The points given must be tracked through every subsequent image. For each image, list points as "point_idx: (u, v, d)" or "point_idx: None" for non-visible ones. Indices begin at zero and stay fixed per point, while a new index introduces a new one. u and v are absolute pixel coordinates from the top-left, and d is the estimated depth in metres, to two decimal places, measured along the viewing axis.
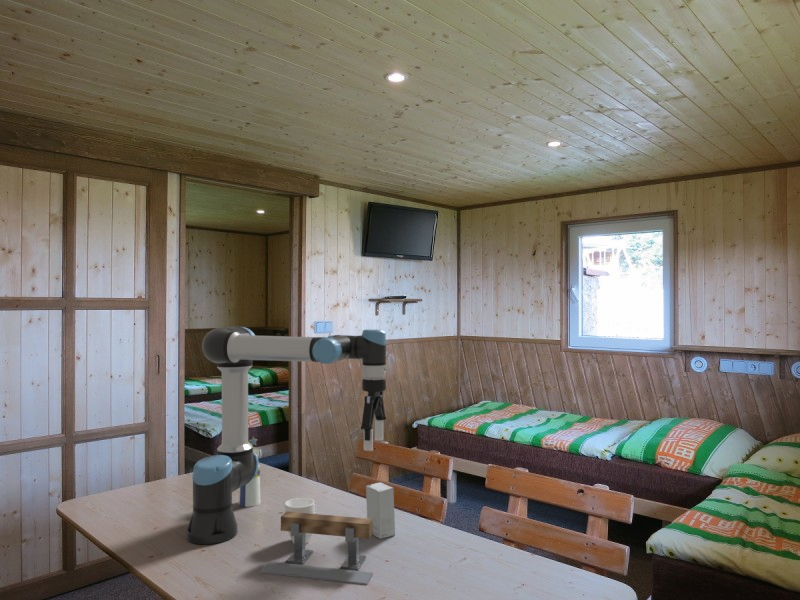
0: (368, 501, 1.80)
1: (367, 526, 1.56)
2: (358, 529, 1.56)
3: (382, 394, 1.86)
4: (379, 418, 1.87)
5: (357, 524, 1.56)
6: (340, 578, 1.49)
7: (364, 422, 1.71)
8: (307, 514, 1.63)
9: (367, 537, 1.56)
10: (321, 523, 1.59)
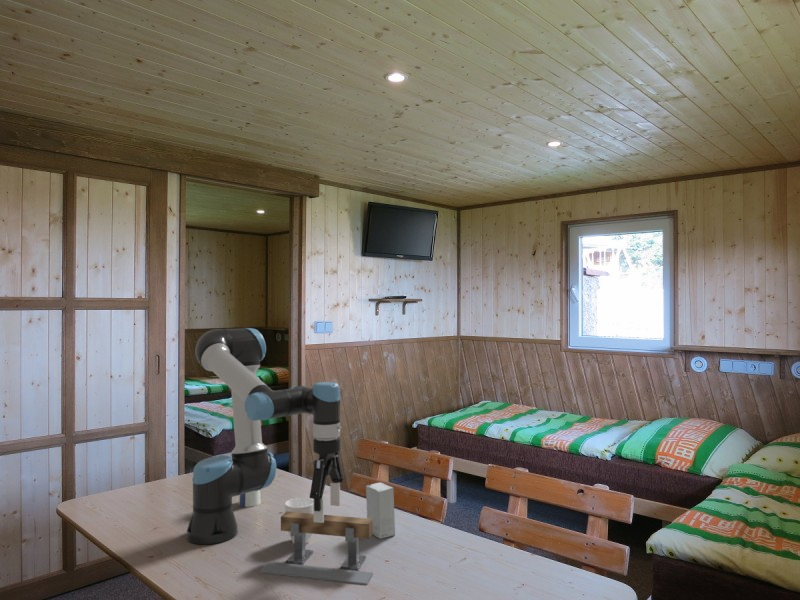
0: (368, 501, 1.80)
1: (367, 526, 1.56)
2: (358, 529, 1.56)
3: (338, 453, 1.67)
4: (335, 480, 1.67)
5: (357, 524, 1.56)
6: (340, 578, 1.49)
7: (313, 491, 1.51)
8: (307, 514, 1.63)
9: (367, 537, 1.56)
10: (321, 523, 1.59)
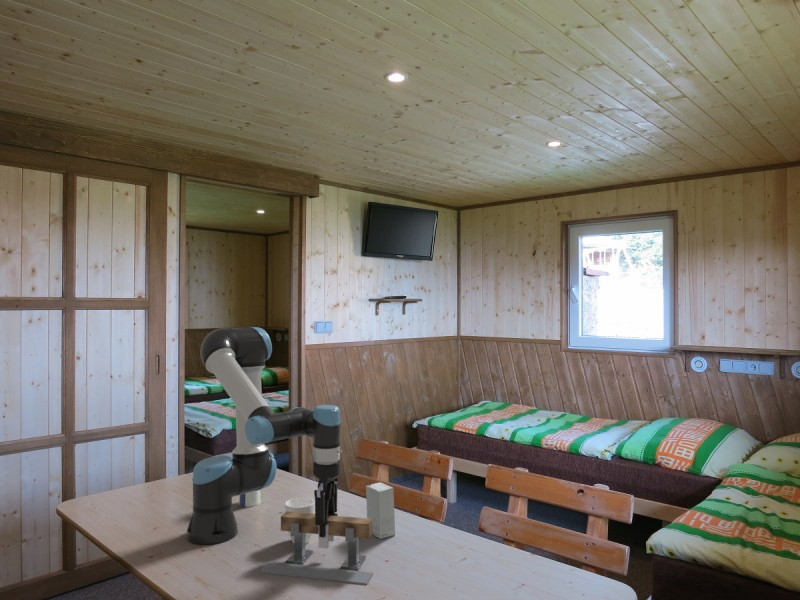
0: (368, 501, 1.80)
1: (367, 526, 1.56)
2: (358, 529, 1.56)
3: (337, 482, 1.66)
4: None
5: (357, 524, 1.56)
6: (340, 578, 1.49)
7: (317, 519, 1.55)
8: (307, 514, 1.63)
9: (367, 537, 1.56)
10: None
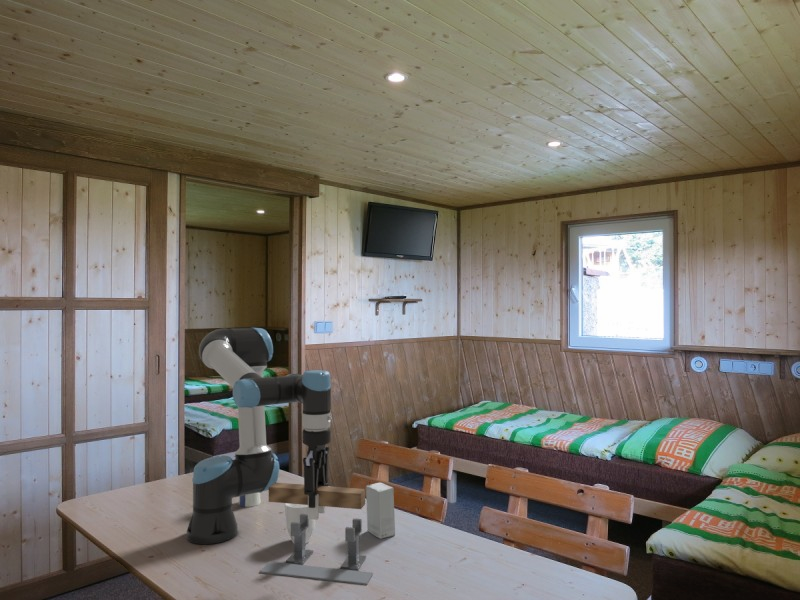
0: (368, 501, 1.80)
1: (358, 496, 1.48)
2: (350, 499, 1.49)
3: (328, 451, 1.58)
4: None
5: (349, 494, 1.49)
6: (340, 578, 1.49)
7: (307, 488, 1.47)
8: (296, 485, 1.55)
9: (359, 507, 1.48)
10: None
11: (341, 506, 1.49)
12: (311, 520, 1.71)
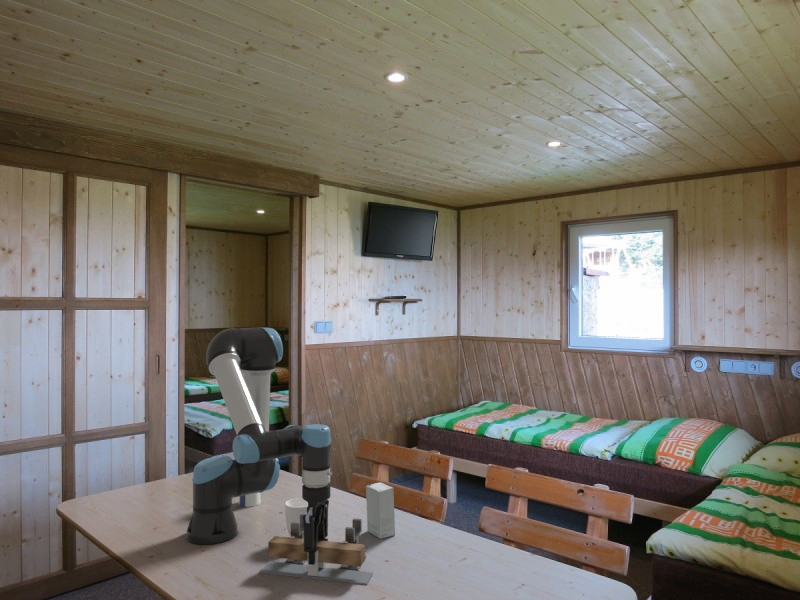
0: (368, 501, 1.80)
1: (358, 553, 1.48)
2: (349, 556, 1.48)
3: (327, 505, 1.58)
4: None
5: (348, 551, 1.49)
6: (340, 578, 1.49)
7: (306, 546, 1.47)
8: (296, 539, 1.55)
9: (359, 564, 1.48)
10: None
11: (341, 563, 1.49)
12: None
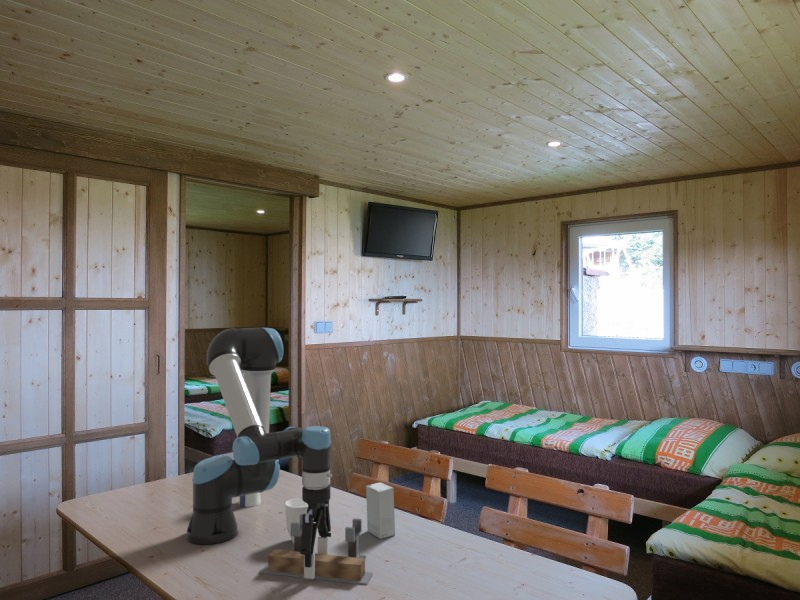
0: (368, 501, 1.80)
1: (358, 567, 1.48)
2: (349, 570, 1.48)
3: (328, 503, 1.59)
4: (323, 535, 1.58)
5: (348, 565, 1.48)
6: (340, 578, 1.49)
7: (303, 547, 1.45)
8: (296, 553, 1.55)
9: (359, 579, 1.48)
10: None
11: (341, 577, 1.49)
12: None
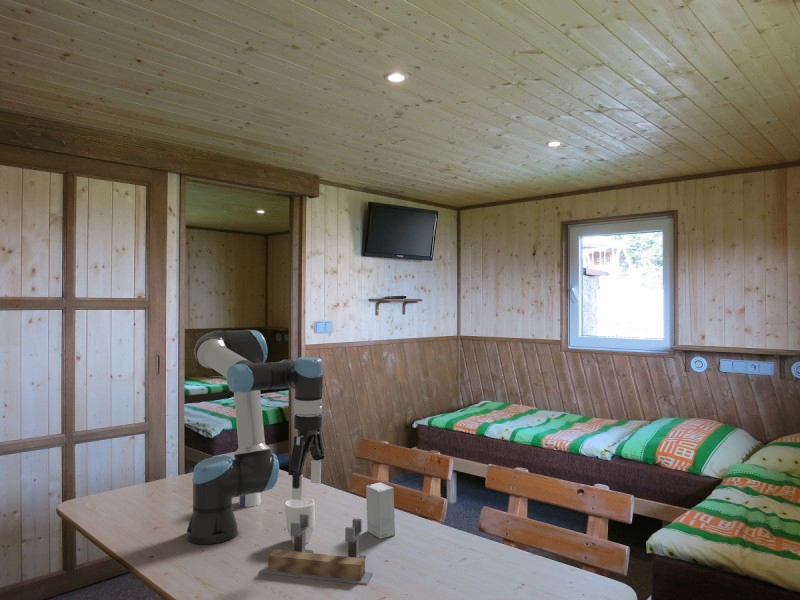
0: (368, 501, 1.80)
1: (358, 567, 1.48)
2: (349, 570, 1.48)
3: (320, 430, 1.62)
4: (316, 457, 1.63)
5: (348, 565, 1.48)
6: (340, 578, 1.49)
7: (292, 468, 1.47)
8: (296, 553, 1.55)
9: (359, 579, 1.48)
10: (310, 563, 1.51)
11: (341, 577, 1.49)
12: (311, 520, 1.71)
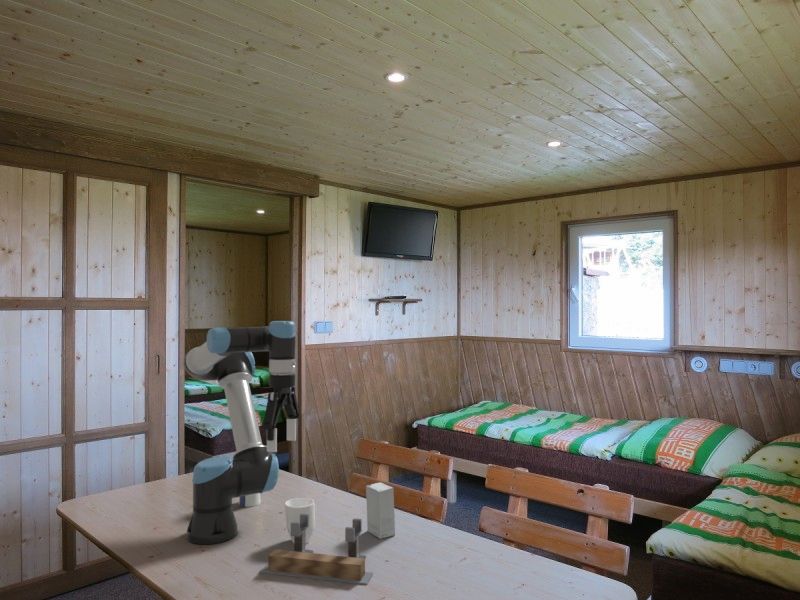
0: (368, 501, 1.80)
1: (358, 567, 1.48)
2: (349, 570, 1.48)
3: (294, 391, 1.73)
4: (291, 416, 1.74)
5: (348, 565, 1.48)
6: (340, 578, 1.49)
7: (266, 421, 1.58)
8: (296, 553, 1.55)
9: (359, 579, 1.48)
10: (310, 563, 1.51)
11: (341, 577, 1.49)
12: (311, 520, 1.71)
